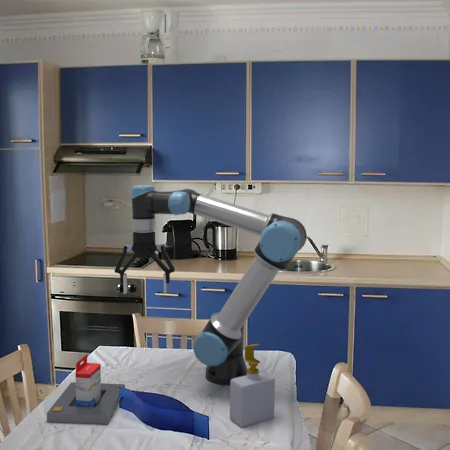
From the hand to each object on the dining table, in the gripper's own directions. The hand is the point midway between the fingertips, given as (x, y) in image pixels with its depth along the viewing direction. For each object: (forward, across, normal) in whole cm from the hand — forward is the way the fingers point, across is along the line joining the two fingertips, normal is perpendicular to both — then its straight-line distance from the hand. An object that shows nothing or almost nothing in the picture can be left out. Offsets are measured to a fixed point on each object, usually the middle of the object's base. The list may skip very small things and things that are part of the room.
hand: (145, 292), depth 187 cm
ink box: (+31, +16, +20) cm, 40 cm away
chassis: (+31, +16, +20) cm, 40 cm away
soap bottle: (+33, -35, +26) cm, 55 cm away
